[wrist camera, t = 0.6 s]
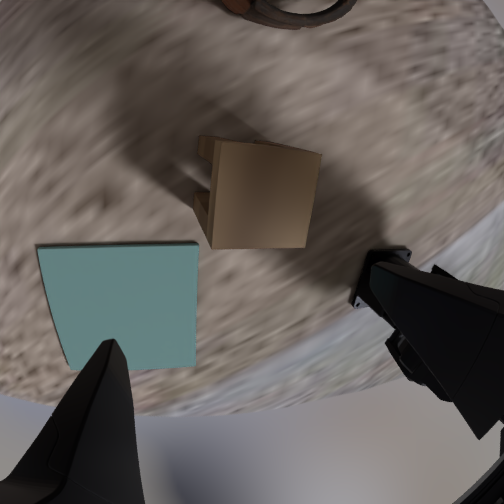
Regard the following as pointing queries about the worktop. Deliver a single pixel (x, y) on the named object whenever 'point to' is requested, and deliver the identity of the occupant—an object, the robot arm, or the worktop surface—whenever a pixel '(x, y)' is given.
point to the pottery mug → (286, 14)
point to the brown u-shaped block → (256, 194)
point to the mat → (124, 301)
